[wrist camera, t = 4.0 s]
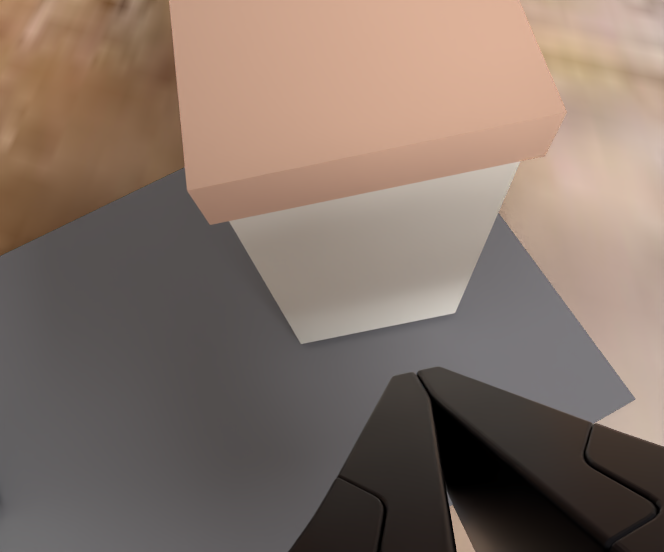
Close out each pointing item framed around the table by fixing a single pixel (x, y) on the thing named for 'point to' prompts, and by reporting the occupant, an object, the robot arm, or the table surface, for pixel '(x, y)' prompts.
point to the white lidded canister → (359, 144)
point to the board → (225, 380)
